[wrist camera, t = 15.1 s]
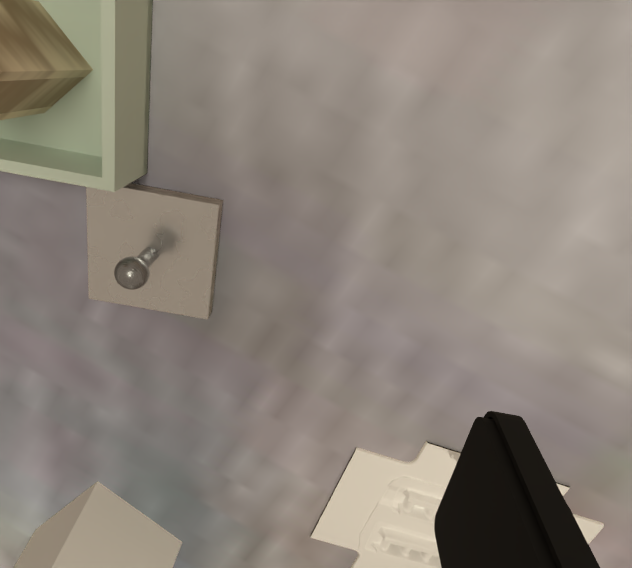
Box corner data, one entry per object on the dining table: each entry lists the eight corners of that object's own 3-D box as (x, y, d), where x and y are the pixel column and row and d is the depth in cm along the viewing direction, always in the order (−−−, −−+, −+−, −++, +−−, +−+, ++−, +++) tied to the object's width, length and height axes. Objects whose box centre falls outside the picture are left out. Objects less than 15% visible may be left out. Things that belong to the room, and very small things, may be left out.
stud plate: (95, 176, 37) (49, 197, 31) (223, 199, 38) (202, 225, 32) (96, 290, 42) (56, 328, 36) (212, 311, 42) (191, 351, 36)
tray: (520, 611, 58) (530, 644, 55) (301, 542, 56) (297, 572, 53) (619, 495, 50) (639, 526, 46) (366, 410, 48) (367, 436, 44)
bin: (-65, -85, 31) (-152, -117, 25) (154, -40, 31) (115, -62, 26) (-37, 138, 37) (-103, 152, 31) (147, 173, 37) (114, 192, 32)
